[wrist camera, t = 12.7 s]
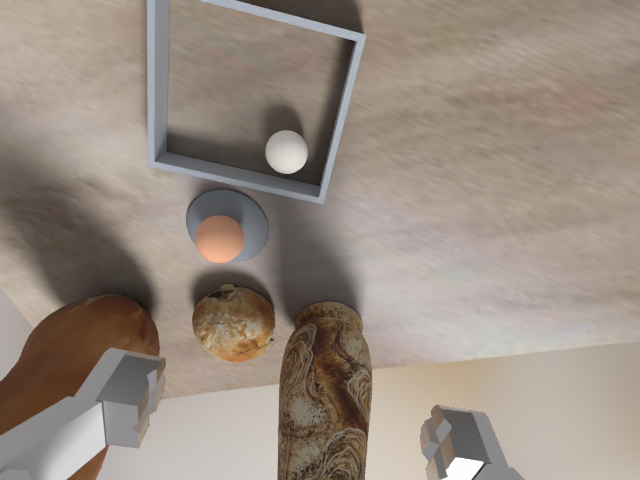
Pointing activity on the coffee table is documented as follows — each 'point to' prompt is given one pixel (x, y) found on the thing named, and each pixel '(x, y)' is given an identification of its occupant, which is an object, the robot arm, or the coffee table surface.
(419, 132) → the coffee table surface
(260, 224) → the pad
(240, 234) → the terracotta ball
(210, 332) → the bread roll
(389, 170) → the coffee table surface
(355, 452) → the vase
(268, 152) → the cream ball
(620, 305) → the coffee table surface
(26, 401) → the butternut squash
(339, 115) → the grey square frame
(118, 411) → the robot arm
